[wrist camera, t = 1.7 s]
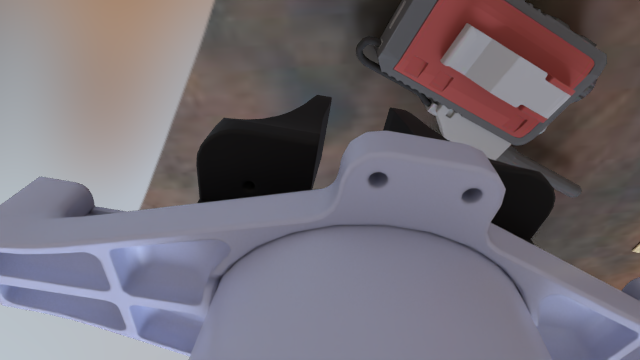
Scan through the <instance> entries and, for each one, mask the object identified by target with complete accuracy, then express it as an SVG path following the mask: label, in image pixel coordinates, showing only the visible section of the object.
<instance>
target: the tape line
mask: <svg viewBox="0 0 640 360" xmlns="http://www.w3.org/2000/svg"><path fill="white" fill-rule="evenodd" d="M632 252H638V253H640V244H638V245H637V246H636V247H635V248H634V249H633V250H632Z"/></svg>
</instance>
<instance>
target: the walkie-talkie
mask: <svg viewBox="0 0 640 360" xmlns="http://www.w3.org/2000/svg"><path fill="white" fill-rule="evenodd" d="M569 27H570V26H568V25H567V24H566V23H564V22H563V21H561V20H560V19H558V18H556V17H553V16H550V15H547V14H544V13H541V10H540V9H537V8H534V7H533V5H532V4H531V3H527V2H525V0H402V1H401V3H400V4H399V6H398V8H397V10H396V11H395V13H394V15H393V17H392V18H391V20H390V22H389V24H388V25H387V27H386V29H385V31H384V32H383V34H382V36H381V38H380V39H378V38H376V37H372V36H368V37H365V38H363V39H362V40H361V41H360V42H359V44H358V45H357V48H356V54H357V57H358V59H359V61H360V62H361V63H362V64H363V65H365V66H366V67H368V68H370V69H372V70H374V71H375V72H377V73H379V74H381V75H383V76H385V77H386V78H388V79H390V80H392V81H394V82H395V83H397V84H399V85H401V86H403V87H404V88H406V89H408V90H410V91H411V92H413V93H415V94H416V95H418V96H419V97H420V99H421V101H422V103H423V104H425V107H426V109H427V111H428V112H430V113H431V114H433V115H435V116H436V119H437V122H438V126H439V128H440V131H441V133H442V135H443V137H444V138H446V139H447V140H449V141H451V142H457V143H462V144H468V145H470V146H472V147H474V148H476V149H478V150H481V151H483V152H484V154H485V155H486V157H487V158H490V159H492V160H497V161H499V162H502V163H506V164H509V165H513V166H517V167H522V168H526V169H531V170H535V171H540V172H541V173H542V174H543V175H544V177H545V178H546V179H547V180H548V181H549V183H550V184H551V186H552V187H553V188H554V189H556V190H558V191H560V192H561V193H563V194H565V195H567V196H569V197H577V196H579V195H580V194H581V191H582V190H581V187H580V186H579V185H577V184H575V183H573V182H571V181H570V180H568V179H566V178H564V177H562V176H561V175H559V174H557V173H555V172H553V171H552V170H550V169H548V168H546V167H544V166H542V165H541V164H539V163H537V162H535V161H533V160H532V159H530V158H528V157H526V156H524V155H522V154H521V153H519V152H517V150H516V149H515V148H514V147H512V146H510V145H511V144H513V145H524V144H526V143H527V142H529V141H531V140H533V139H534V138H535V137H536V136H537V135H538V134H541V133H543V132H544V131H545V130H546V128H547V126H548V125H549V124H550V123H551V122H552V121H553V120H554V119H555V118H556V117H557V116H558V115H559V114H560V113H561V112H562V111H563V110H564V109H565V108H566V107H567V106H568V105H570V104H571V103H573V102H577V101H579V100H580V99H582V98H584V97H585V96H586V95H588V94H589V93H590V92H591V90H592V89H593V88H594V86H595V84H596V81H597V78H598V77H599V75H600V74H601V72H602V71H603V69H604V67H605V66H606V64H607V55H606V54H605V53H603V52H602V51H600V50H599V49H597V48H596V47H595V46H596V44H595V43H593V42H592V41H591V40H589V39H588V38H586V37H584V36H581V35H578V34H575V33H574V32H572V31H571V30H569ZM369 44H371V45H375V49H376V53H377V56H378V60H379V64H380V65H378V64H377V63H375V62H373V61H371V60H369V59H368V58H367V57H365V55H364V54H363V52H362V51H363V49H364V48H365V46H366V45H369ZM427 97H430V98H429V99H428V98H427Z"/></svg>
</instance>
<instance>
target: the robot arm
mask: <svg viewBox="0 0 640 360" xmlns="http://www.w3.org/2000/svg"><path fill="white" fill-rule="evenodd" d="M331 99H332V97H326V96H320V95H316V96H315V97H313V98H312V99H311V100H309V101H308V102H307V103H305V104H304V105H302V106H300V107H299V108H297V109H295V110H293V111H291V112H288V113H286V114H283V115H279V116H275V117H270V118H265V119H251V120H243V119H230V118H223V119H222V120H221V121H220V122H219V123H218V124H217V125H216V126H215V128H214V129H213V130H212V131H211V133H210V134H209V135H208V136H207V138H206V139H205V140H204V142H203V143H202V144H201V146H200V149H199V151H198V153H197V175H198V185H199V196H200V199H199V201H198V203H196V204H188V205H179V206H171V207H162V208H154V209H145V210H137V211H128V212H126V211H120V210H114V209H107V208H102V207H95V205H94V200H93V197H92V194H91V193H90V191H89V189H88V188H86V187H85V186H84V185H82V184H79V183H76V182H70V181H64V180H59V179H52V178H46V177H38V178H37V179H36V180H34V181H33V182H31V183H30V184H29V185H27V186H26V187H25V188H23V189H22V190H20V191H19V192H18V193H16V194H15V195H13V196H12V197H11V198H9V199H8V200H7V201H5V202H4V203H2V204H1V205H0V303H1V304H2V305H3V306H8V307H14V308H20V309H25V310H31V311H36V312H41V313H45V314H50V315H54V316H58V317H62V318H66V319H71V320H74V321H77V322H81V323H84V324H88V325H92V326H95V327H98V328H101V329H105V330H108V331H111V332H114V333H117V334H120V335H124V336H127V337H130V338H133V339H137V340H139V341H143V342H146V343H149V344H152V345H155V346H158V347H161V348H165V349H168V350H171V351H174V352H177V353H181V354H184V355H187V356H190V357H189V360H640V277H639V278H635V279H634V280H632V281H630V282H629V283H628V284H627V285H626V286H625V287H624V288H623V289H622V291H620V290H618V289H616V288H614V287H612V286H611V285H609V284H607V283H605V282H603V281H601V280H599V279H597V278H595V277H593V276H592V275H590V274H588V273H586V272H584V271H582V270H580V269H578V268H576V267H574V266H573V265H571V264H569V263H567V262H565V261H563V260H561V259H559V258H557V257H555V256H554V255H552V254H550V253H548V252H546V251H544V250H542V249H540V248H538V247H536V246H535V245H534V244H533V242H532V241H531V238H532V236H533V235H534V234H535V232H536V231H537V230H538V229H539V227H540V226H541V225H542V223H543V222H544V221H545V219H546V218H547V217H548V215H549V214H550V212H551V210H552V208H553V206H554V202H555V193H554V188H553V187H552V186H551V184H550V183H549V181H548V180H547V179H546V178H545V177H544V175H543V174H542V173H541V172H540V171H535V170H531V169H526V168H522V167H517V166H513V165H509V164H506V163H502V162H499V161H496V160H492V159H490V158H487V157H486V155H485V154H484V152H483V151H481V150H478V149H476V148H474V147H472V146H470V145H468V144H462V143H457V142H451V141H449V140H447V139H446V138H444V137H443V136H441V135H440V134H438V133H437V132H435V131H434V130H432V129H431V128H429V127H428V126H427V125H425V124H424V123H423V122H421V121H420V120H419V119H418V118H416V117H415V116H414V115H412V114H411V113H409V112H408V111H406V110H401V109H396V108H390V109H389V112H388V116H387V119H386V123H385V126H384V129H383V131H372V132H366V133H364V134H362V135H361V136H359V137H357V138H355V139H354V140H352V141H350V143H349V145H348V147H347V148H346V150H345V152H344V154H343V156H342V159H341V164H340V168H339V173H338V175H337V178H336V180H335V181H334V182H333V184H331V185H329V186H328V187H326V188H323V189H315V190H312V188H313V184H314V181H315V178H316V174H317V171H318V167H319V164H320V160H321V156H322V151H323V145H324V140H325V134H326V128H327V123H328V117H329V111H330V106H331Z"/></svg>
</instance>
